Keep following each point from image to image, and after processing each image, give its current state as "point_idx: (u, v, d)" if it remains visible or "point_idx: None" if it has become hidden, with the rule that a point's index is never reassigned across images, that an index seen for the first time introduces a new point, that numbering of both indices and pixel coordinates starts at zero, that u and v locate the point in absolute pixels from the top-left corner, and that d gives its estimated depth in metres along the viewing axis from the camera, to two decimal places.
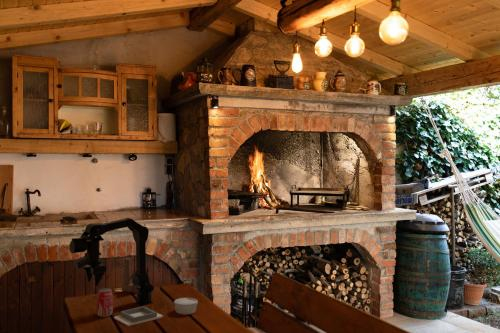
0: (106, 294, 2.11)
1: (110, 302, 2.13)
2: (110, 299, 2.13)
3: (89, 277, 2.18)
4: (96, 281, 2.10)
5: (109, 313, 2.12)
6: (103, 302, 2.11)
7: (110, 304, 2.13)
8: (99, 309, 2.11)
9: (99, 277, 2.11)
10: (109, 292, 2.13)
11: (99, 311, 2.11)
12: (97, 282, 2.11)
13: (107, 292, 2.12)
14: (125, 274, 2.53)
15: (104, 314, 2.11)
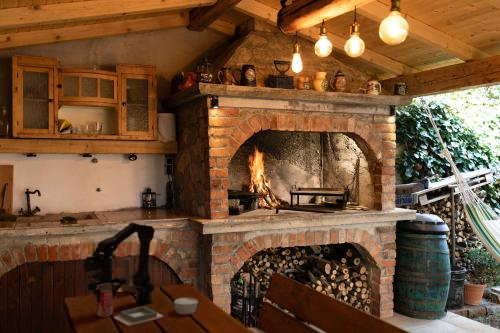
0: (106, 294, 2.11)
1: (110, 302, 2.13)
2: (110, 299, 2.13)
3: None
4: None
5: (109, 313, 2.12)
6: (103, 302, 2.11)
7: (110, 304, 2.13)
8: (99, 309, 2.11)
9: (96, 295, 2.10)
10: (109, 292, 2.13)
11: (99, 311, 2.11)
12: (96, 299, 2.11)
13: (107, 292, 2.12)
14: (125, 274, 2.53)
15: (104, 314, 2.11)
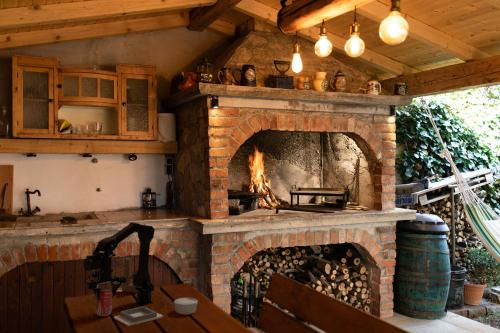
0: (106, 293, 2.11)
1: (110, 302, 2.13)
2: (110, 298, 2.13)
3: None
4: (96, 296, 2.12)
5: (108, 312, 2.12)
6: (102, 301, 2.11)
7: (109, 303, 2.12)
8: (98, 308, 2.11)
9: (96, 293, 2.10)
10: (109, 291, 2.13)
11: (98, 310, 2.11)
12: (96, 298, 2.11)
13: (107, 291, 2.12)
14: (125, 274, 2.53)
15: (103, 313, 2.11)
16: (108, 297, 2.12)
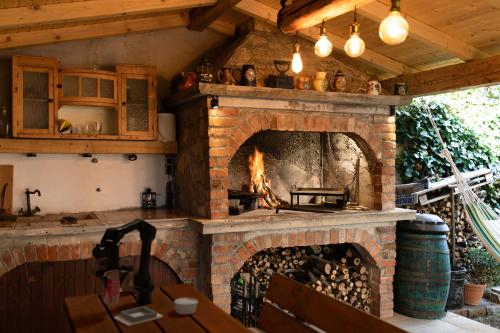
0: (113, 281, 2.11)
1: (117, 290, 2.12)
2: (117, 287, 2.12)
3: None
4: (103, 285, 2.11)
5: (115, 301, 2.11)
6: (110, 289, 2.10)
7: (117, 292, 2.12)
8: (105, 296, 2.10)
9: (103, 282, 2.10)
10: (117, 280, 2.12)
11: (105, 298, 2.10)
12: (104, 286, 2.11)
13: (115, 279, 2.11)
14: None
15: (111, 301, 2.10)
16: (115, 285, 2.11)
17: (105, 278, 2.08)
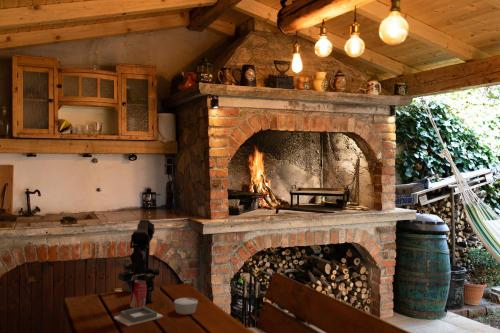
0: (141, 285, 2.09)
1: (144, 294, 2.10)
2: (144, 291, 2.10)
3: None
4: (130, 289, 2.09)
5: (142, 305, 2.09)
6: (137, 293, 2.08)
7: (144, 296, 2.10)
8: (132, 300, 2.08)
9: (130, 286, 2.07)
10: (144, 284, 2.10)
11: (132, 303, 2.08)
12: (131, 290, 2.08)
13: (142, 283, 2.09)
14: None
15: (138, 306, 2.08)
16: (142, 289, 2.09)
17: (132, 282, 2.06)
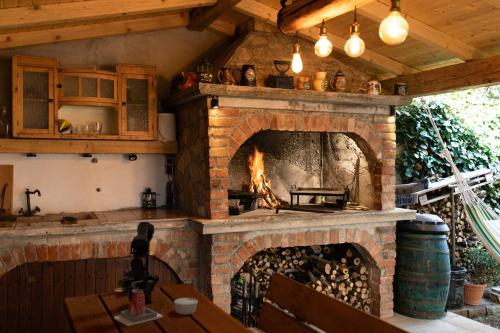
0: (138, 295, 2.08)
1: (143, 304, 2.09)
2: (142, 300, 2.09)
3: (147, 293, 2.14)
4: (128, 296, 2.08)
5: (141, 314, 2.09)
6: (135, 303, 2.07)
7: (142, 305, 2.09)
8: (131, 310, 2.08)
9: (128, 293, 2.07)
10: (141, 293, 2.09)
11: (131, 313, 2.08)
12: (128, 297, 2.08)
13: (139, 293, 2.09)
14: None
15: (137, 315, 2.08)
16: (141, 299, 2.08)
17: (130, 289, 2.05)
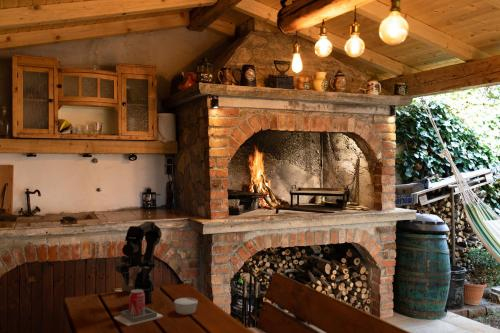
0: (138, 295, 2.08)
1: (143, 304, 2.09)
2: (142, 300, 2.09)
3: (143, 278, 2.25)
4: (125, 281, 2.18)
5: (141, 314, 2.09)
6: (135, 303, 2.07)
7: (142, 305, 2.09)
8: (131, 310, 2.08)
9: (125, 278, 2.17)
10: (141, 293, 2.09)
11: (131, 313, 2.08)
12: (126, 282, 2.18)
13: (139, 293, 2.09)
14: None
15: (137, 315, 2.08)
16: (141, 299, 2.08)
17: (127, 274, 2.15)
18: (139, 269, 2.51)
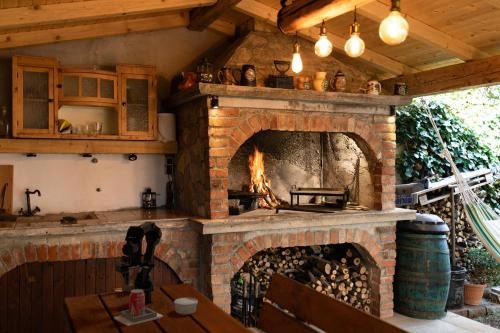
0: (138, 295, 2.08)
1: (143, 304, 2.09)
2: (142, 300, 2.09)
3: (143, 278, 2.25)
4: (124, 280, 2.18)
5: (141, 314, 2.09)
6: (135, 303, 2.07)
7: (142, 305, 2.09)
8: (131, 310, 2.08)
9: (125, 277, 2.17)
10: (141, 293, 2.09)
11: (131, 313, 2.08)
12: (125, 282, 2.18)
13: (139, 293, 2.09)
14: None
15: (137, 315, 2.08)
16: (141, 299, 2.08)
17: (127, 274, 2.16)
18: (139, 269, 2.51)
